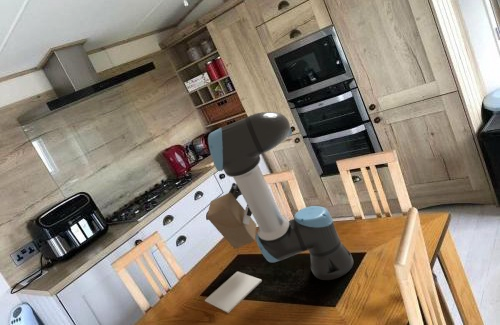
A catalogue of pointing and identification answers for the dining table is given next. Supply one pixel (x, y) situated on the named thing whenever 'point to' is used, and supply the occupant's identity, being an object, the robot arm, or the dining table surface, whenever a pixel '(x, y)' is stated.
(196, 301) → the dining table surface
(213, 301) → the grey mat
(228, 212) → the wooden block
